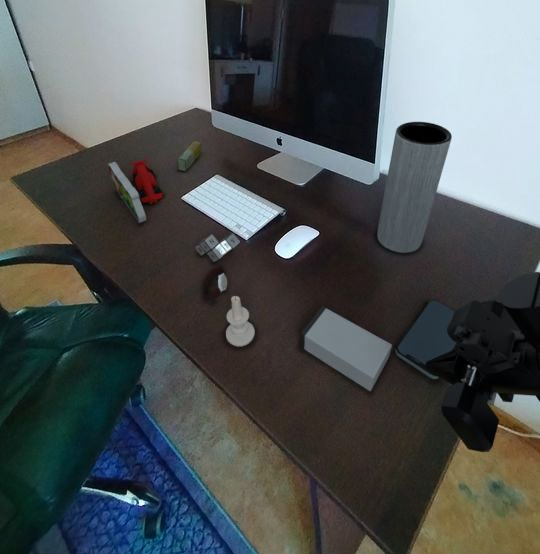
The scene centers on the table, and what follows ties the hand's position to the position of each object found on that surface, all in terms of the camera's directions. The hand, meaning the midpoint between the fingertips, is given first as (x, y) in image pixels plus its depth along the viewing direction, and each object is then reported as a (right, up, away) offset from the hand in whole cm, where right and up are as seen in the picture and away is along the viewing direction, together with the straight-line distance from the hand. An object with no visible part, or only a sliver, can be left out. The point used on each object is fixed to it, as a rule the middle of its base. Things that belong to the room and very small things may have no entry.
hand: (426, 366), depth 52 cm
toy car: (-58, +27, +55) cm, 84 cm away
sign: (-60, +23, +49) cm, 81 cm away
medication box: (-48, +37, +67) cm, 90 cm away
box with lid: (-4, -3, +7) cm, 9 cm away
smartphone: (+6, -1, +13) cm, 14 cm away
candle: (-28, -1, +15) cm, 31 cm away
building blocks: (-34, +12, +32) cm, 48 cm away
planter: (+8, +15, +34) cm, 38 cm away
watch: (-33, +6, +24) cm, 42 cm away
